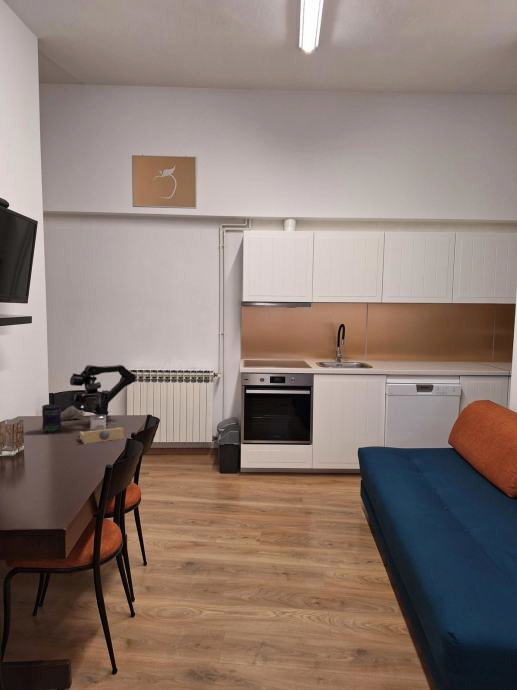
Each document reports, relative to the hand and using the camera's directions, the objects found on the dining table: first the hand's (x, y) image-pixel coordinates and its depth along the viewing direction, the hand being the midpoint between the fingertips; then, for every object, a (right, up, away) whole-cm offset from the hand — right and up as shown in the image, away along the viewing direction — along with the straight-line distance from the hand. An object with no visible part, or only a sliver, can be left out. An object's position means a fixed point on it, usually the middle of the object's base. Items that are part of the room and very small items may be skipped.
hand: (94, 408), depth 273 cm
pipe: (-27, -11, +30) cm, 41 cm away
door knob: (+4, -14, -6) cm, 16 cm away
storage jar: (-24, -13, -1) cm, 27 cm away
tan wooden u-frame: (+9, -15, -14) cm, 22 cm away
